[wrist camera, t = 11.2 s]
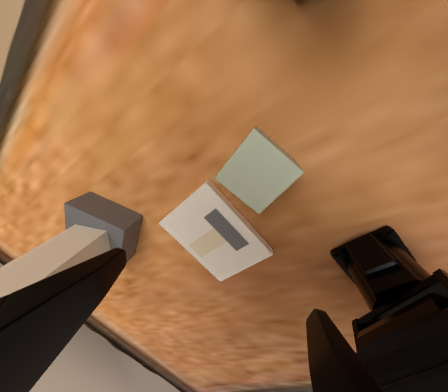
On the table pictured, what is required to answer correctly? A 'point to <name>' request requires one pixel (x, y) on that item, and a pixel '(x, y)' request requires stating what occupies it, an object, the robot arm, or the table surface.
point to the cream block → (53, 257)
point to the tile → (216, 233)
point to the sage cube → (258, 171)
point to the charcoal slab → (105, 220)
